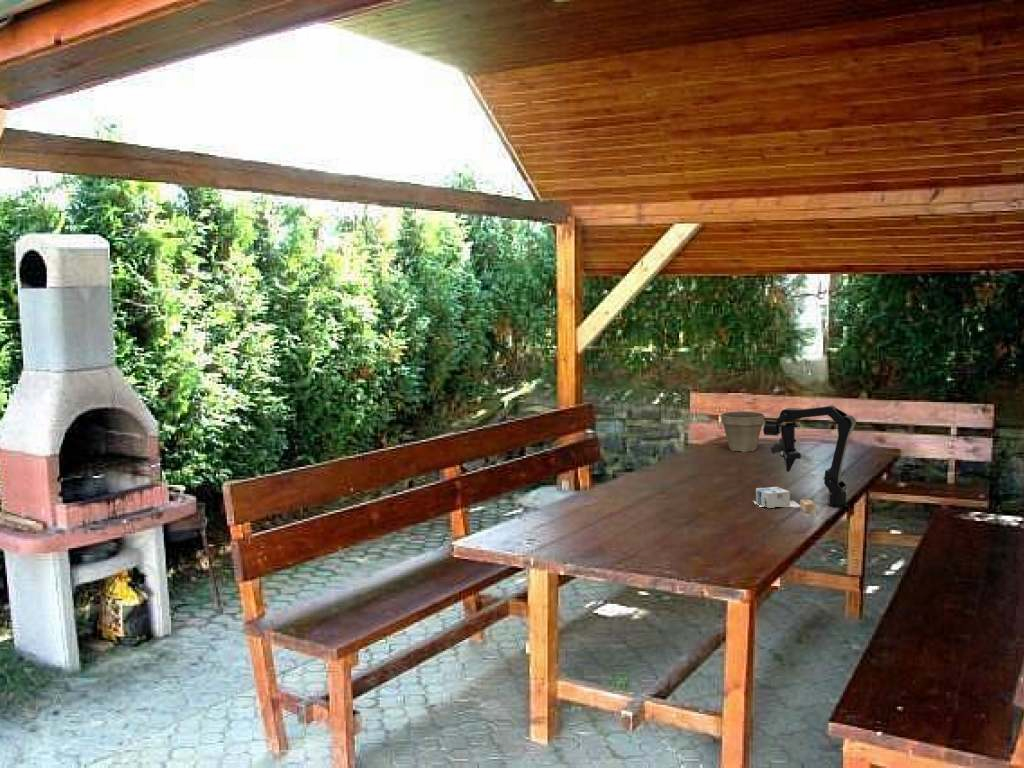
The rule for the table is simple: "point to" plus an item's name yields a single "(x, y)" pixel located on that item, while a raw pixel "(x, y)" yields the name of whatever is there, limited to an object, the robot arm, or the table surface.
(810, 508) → the oak block
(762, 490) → the light bulb box
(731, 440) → the plant pot
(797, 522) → the table surface
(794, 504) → the white flat board
